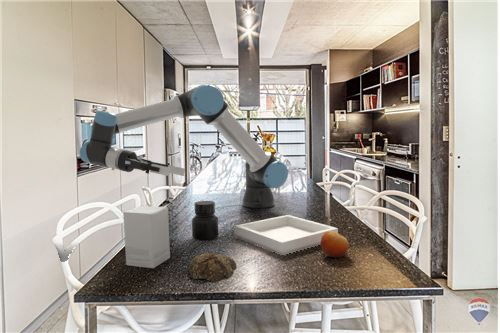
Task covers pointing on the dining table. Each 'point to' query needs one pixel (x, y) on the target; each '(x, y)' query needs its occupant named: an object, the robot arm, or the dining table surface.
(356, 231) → the dining table surface
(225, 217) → the dining table surface
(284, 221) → the tray
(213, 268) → the brown lumpy mound
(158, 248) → the supplement box
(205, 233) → the ink bottle
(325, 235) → the fruit
